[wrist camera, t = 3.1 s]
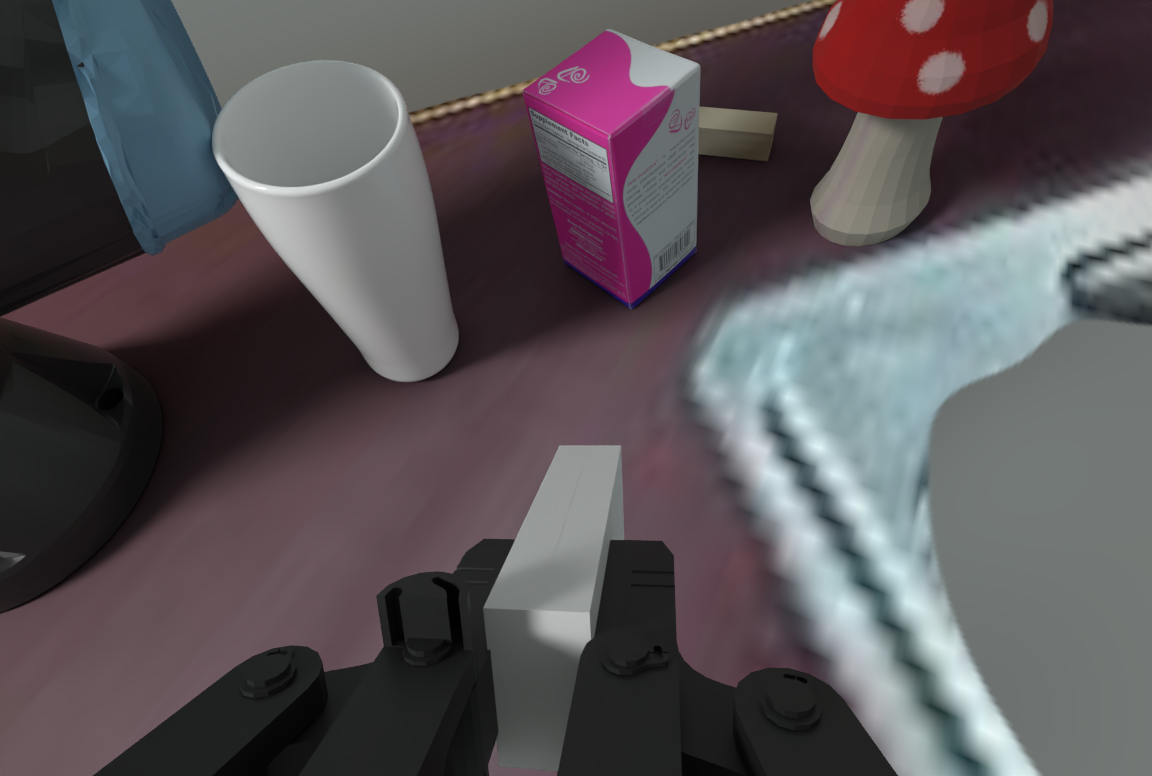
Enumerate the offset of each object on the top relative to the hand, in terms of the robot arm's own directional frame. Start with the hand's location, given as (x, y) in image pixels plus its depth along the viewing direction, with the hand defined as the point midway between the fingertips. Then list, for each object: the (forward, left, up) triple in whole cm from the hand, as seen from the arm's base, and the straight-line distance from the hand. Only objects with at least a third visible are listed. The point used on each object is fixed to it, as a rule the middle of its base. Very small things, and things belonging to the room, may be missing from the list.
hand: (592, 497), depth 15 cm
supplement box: (-5, +19, -13) cm, 24 cm away
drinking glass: (-15, +10, -13) cm, 22 cm away
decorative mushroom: (+7, +25, -13) cm, 29 cm away
